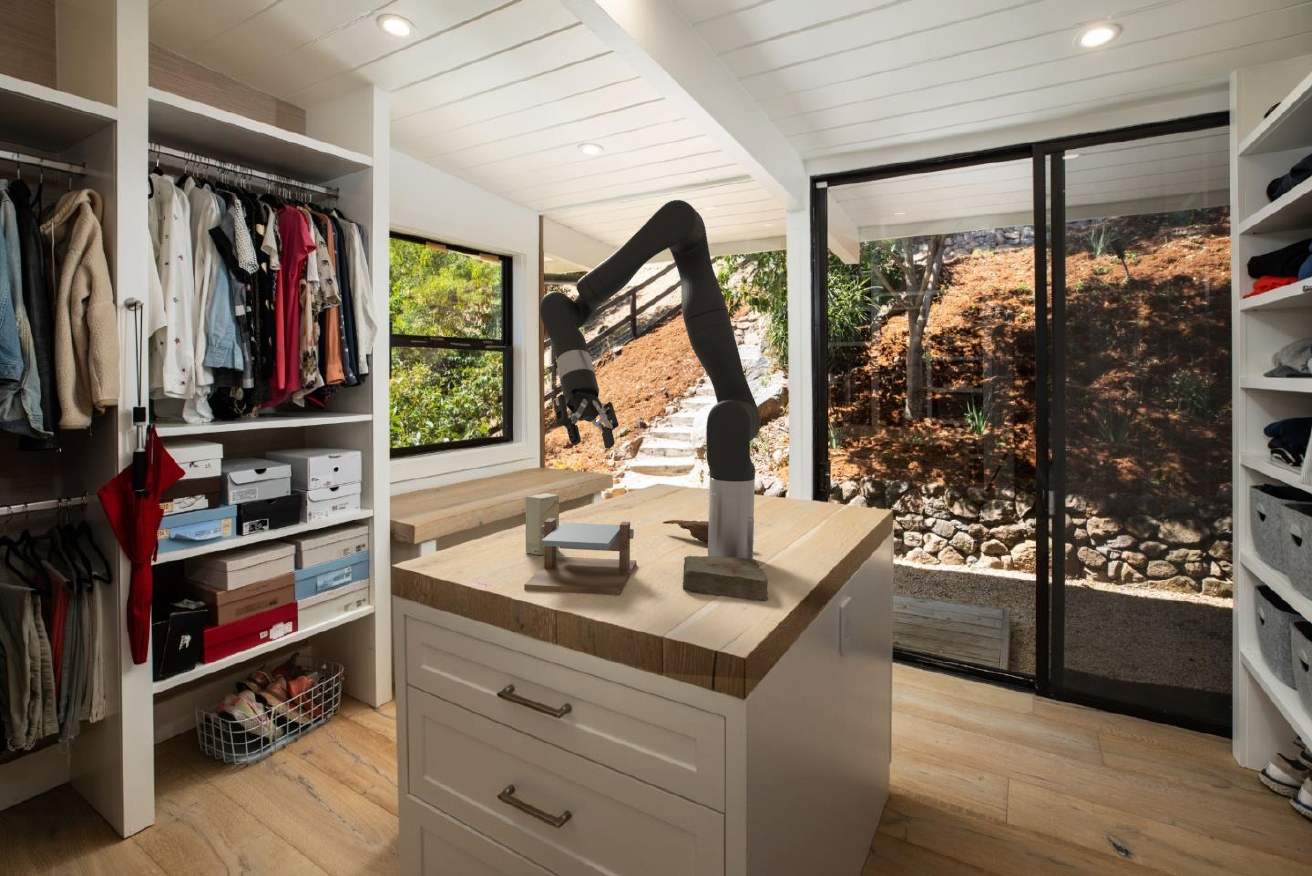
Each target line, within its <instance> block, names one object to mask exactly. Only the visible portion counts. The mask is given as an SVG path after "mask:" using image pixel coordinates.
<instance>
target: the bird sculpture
mask: <svg viewBox="0 0 1312 876" xmlns="http://www.w3.org/2000/svg"><path fill="white" fill-rule="evenodd" d="M662 524H665V525H667V524H668V525H673V524H675V525H678V526H679V527H680V529H683V530H688V531H689V532H690V534H689V535H690V536H691V537H692V538H693V539H697V540H698V541H699V542H702V543H707V544H708V527H709V520H708V521H707V520H700V521H698V520H680V519H672V520H666V521H662ZM754 542H755V540H754V539H753V543H754Z"/></svg>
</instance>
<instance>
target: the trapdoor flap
mask: <svg viewBox="0 0 1312 876" xmlns="http://www.w3.org/2000/svg"><path fill="white" fill-rule="evenodd" d="M619 544H620V524H606V523H584V522H562V523H561V524H559V527H557V528H556V529H555V530H554V531H552V532H551V533H550V534H549V535H547V536H546V537H545V538H544V539H542V540H541V546H555V547H559V549H562V550H565V549H566V550H583V551H584V550H586V551H602V552H603V551H604V552H605V551H607V552H619Z"/></svg>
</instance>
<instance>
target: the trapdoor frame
mask: <svg viewBox="0 0 1312 876" xmlns="http://www.w3.org/2000/svg"><path fill="white" fill-rule="evenodd" d="M619 525H620V544H619V551H618V552H619V554H618V557H619V558H618V559H616V558H615V559H613V558H598V557H597V558H594V557H579V556H578V557H577V556H559V555H558V556H557V551H556V547H555V546H544V554H543V566H542V567H541V568H540V569H539V570H538V571H537V572H536V573H534V574H533V576H531V577H530V578H529V579H528V580H527V581H526V582H525V583H524V586H523V587H524V588H523V589H524V591H538V592H539V591H540V592H556V593H573V594H574V593H575V594H589V595H590V594H591V595H592V594H593V595H606V596H607V595H610V596H621V594H622V592H623V590H624V588H625V587H626V585H627V583H628V581H629V580H630V578H631V576H632V575H633V572H634V570H635V569H636V568H637V565H638V564H637V562H638V561H637V560H636V559H635V560H634V559H631V558H630V557H631V554H630V553H631V540H633V539H634V536H635V535H634V533H635V531H634V530H635V529H634V528H632V529H631V521H626V520H625V521H624V520H623V521H621V523H619ZM555 529H556V518H548V519H547V520H546V521H544V525H542V528H541V534H542V535H544V538H545V537H546V536H547V535H549V534H550V533H551V532H552V531H554V530H555Z"/></svg>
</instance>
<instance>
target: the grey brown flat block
mask: <svg viewBox="0 0 1312 876" xmlns="http://www.w3.org/2000/svg"><path fill="white" fill-rule="evenodd" d="M683 561H684V563H683V572H682V573H683V574H682V575H683V576H682V590H683V591H686V592H690V593H694V594H698V595H699V594H700V595H708V596H709V595H710V596H716V597H726V598H727V597H728V598H732V599H739V600H746V601H759V602H766V601H768V600H769V596H768V595H769V592H768V586H769V584H768V583H769V582H768V578H767V575H766V573H765V571H764V570H763V568H760V565H759V563H758V562H757V561H756V560H755V559H753V560H752V559H747V558H745V559H741V558H734V557H732V558H730V557H718V556H708V555H707V556H705V555H703V556H700V555H699V556H698V555H697V556H696V555H688V556H684V560H683Z"/></svg>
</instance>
